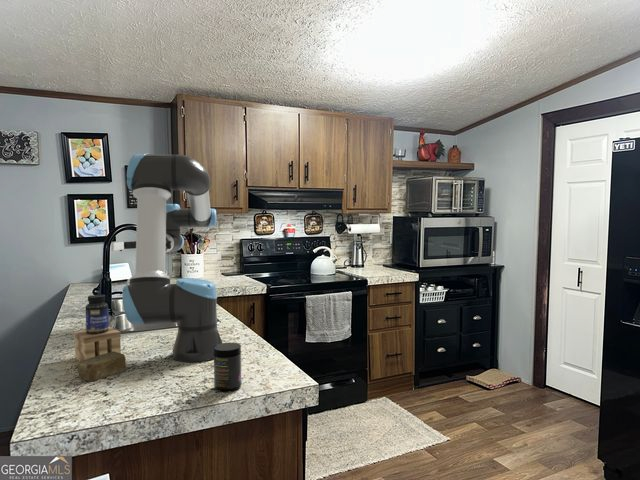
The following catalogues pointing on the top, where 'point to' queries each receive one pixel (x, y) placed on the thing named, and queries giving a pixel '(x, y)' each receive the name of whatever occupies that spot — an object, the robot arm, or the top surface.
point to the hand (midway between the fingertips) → (131, 246)
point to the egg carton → (112, 321)
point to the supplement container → (227, 366)
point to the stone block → (101, 366)
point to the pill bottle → (96, 315)
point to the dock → (96, 343)
